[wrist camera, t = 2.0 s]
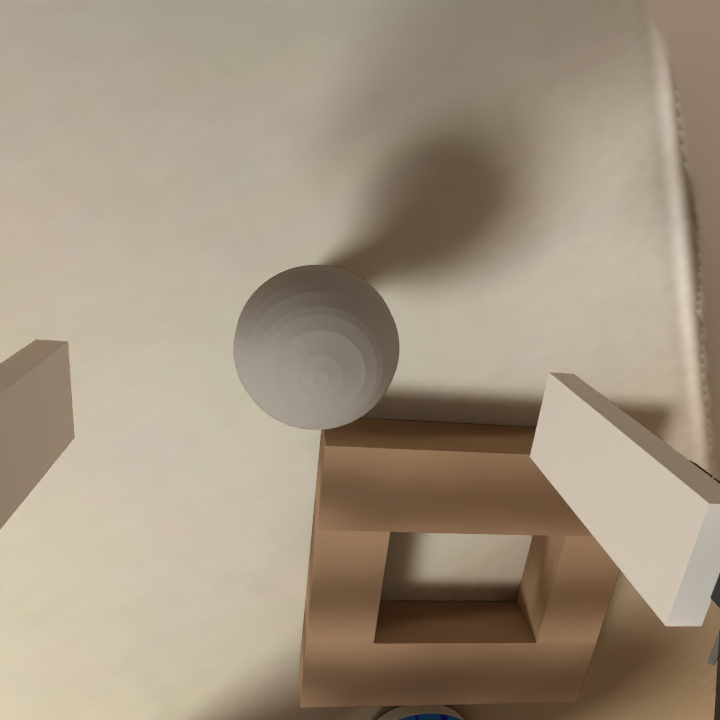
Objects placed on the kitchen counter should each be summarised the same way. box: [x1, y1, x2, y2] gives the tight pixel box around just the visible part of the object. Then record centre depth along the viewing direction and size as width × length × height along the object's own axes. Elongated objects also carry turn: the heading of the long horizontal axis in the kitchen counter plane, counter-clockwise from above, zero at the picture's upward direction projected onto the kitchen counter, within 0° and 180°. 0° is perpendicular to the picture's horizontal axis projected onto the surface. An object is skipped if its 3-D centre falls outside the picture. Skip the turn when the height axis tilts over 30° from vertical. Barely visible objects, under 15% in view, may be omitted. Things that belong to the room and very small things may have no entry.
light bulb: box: [233, 265, 399, 430], centre depth 21 cm, size 6×5×10 cm
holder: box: [300, 418, 620, 708], centre depth 30 cm, size 16×16×3 cm
